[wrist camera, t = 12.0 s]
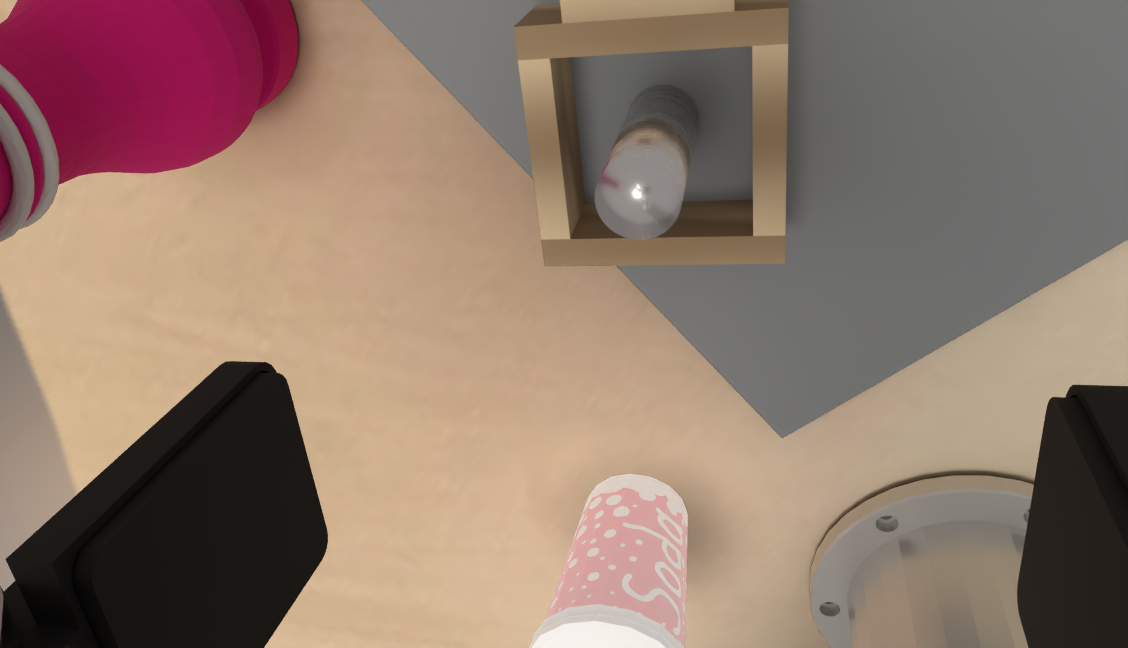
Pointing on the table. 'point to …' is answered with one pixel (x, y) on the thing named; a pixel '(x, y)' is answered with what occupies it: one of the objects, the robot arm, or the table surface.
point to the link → (567, 225)
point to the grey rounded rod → (648, 164)
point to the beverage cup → (623, 571)
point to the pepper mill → (129, 88)
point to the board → (851, 171)
